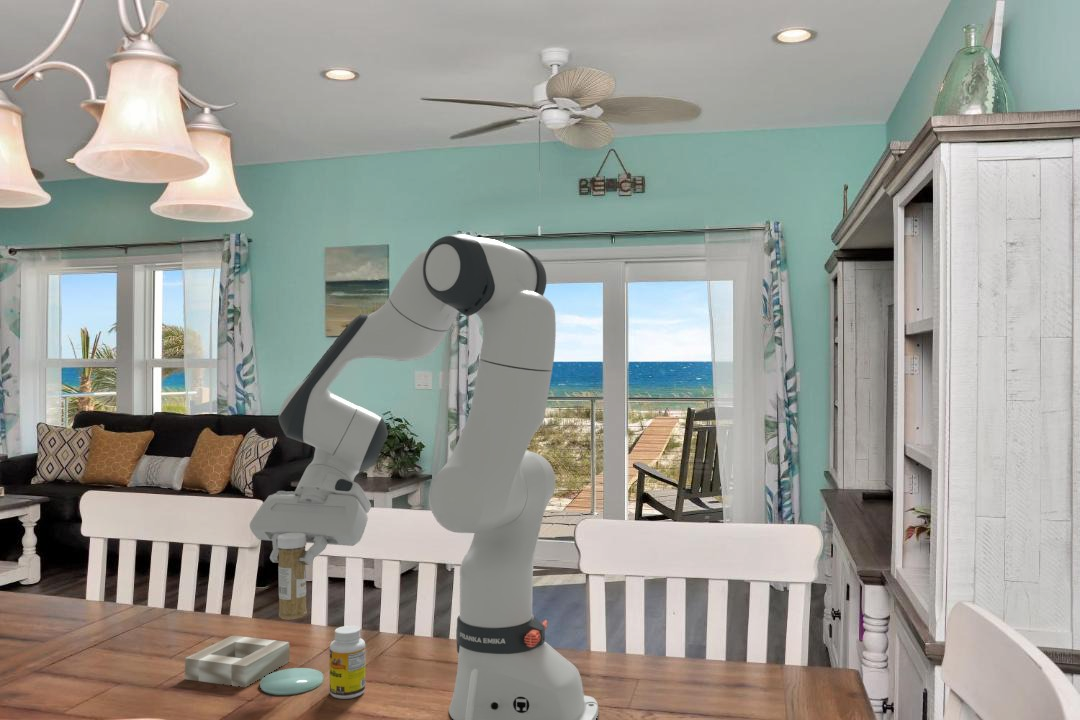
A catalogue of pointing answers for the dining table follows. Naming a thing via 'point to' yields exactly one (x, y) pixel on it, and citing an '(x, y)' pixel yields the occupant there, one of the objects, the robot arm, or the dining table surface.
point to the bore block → (237, 661)
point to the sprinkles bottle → (291, 576)
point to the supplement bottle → (347, 663)
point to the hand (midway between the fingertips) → (289, 562)
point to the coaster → (291, 681)
